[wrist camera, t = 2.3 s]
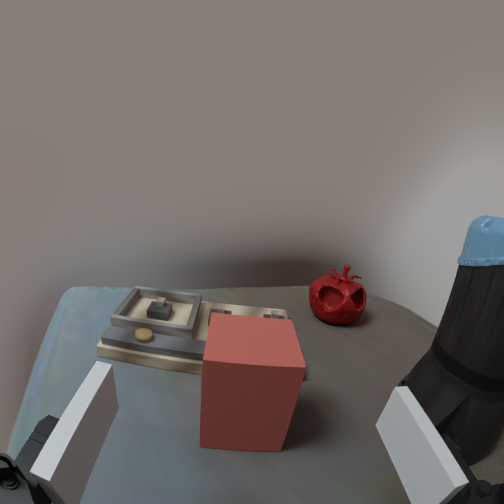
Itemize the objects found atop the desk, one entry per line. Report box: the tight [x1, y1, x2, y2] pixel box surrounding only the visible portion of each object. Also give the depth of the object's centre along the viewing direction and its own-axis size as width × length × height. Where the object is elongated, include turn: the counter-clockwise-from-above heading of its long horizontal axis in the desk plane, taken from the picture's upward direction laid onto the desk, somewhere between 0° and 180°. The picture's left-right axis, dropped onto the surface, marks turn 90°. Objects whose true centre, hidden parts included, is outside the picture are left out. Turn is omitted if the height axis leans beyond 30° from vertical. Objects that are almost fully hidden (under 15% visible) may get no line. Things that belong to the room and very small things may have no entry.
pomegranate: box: [309, 265, 366, 324], centre depth 49 cm, size 10×10×9 cm
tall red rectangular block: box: [200, 312, 306, 452], centre depth 24 cm, size 7×7×10 cm
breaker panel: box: [96, 286, 288, 374], centre depth 39 cm, size 24×16×4 cm, turn 92°
